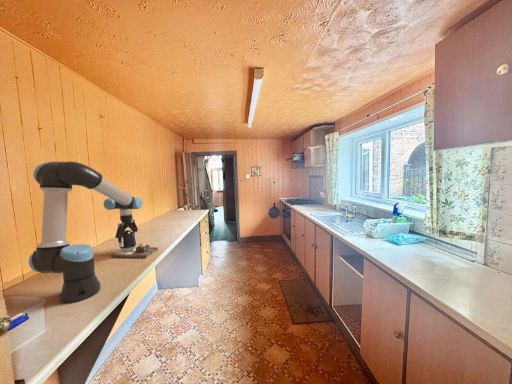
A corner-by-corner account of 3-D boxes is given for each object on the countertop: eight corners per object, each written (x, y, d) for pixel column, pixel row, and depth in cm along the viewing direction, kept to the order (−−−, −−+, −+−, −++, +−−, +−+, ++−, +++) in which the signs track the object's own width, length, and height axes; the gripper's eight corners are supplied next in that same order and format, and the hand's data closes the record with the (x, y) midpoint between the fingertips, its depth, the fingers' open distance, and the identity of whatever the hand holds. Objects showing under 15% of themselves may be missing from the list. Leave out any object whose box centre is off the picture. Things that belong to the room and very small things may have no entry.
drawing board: (145, 258, 142) (145, 250, 142) (111, 257, 144) (110, 250, 144) (158, 249, 158) (158, 242, 158) (127, 249, 160) (127, 242, 160)
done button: (143, 248, 148) (143, 244, 148) (138, 248, 149) (138, 244, 148) (147, 246, 152) (146, 242, 152) (141, 246, 153) (141, 242, 152)
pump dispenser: (130, 253, 146) (128, 232, 145) (116, 253, 147) (115, 232, 146) (139, 248, 156) (138, 228, 155) (127, 247, 157) (125, 228, 156)
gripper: (118, 218, 136) (120, 249, 138) (142, 211, 161) (143, 238, 163) (107, 218, 137) (109, 249, 139) (132, 211, 162) (134, 238, 164)
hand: (128, 243), depth 151 cm, fingers open, 13 cm apart
